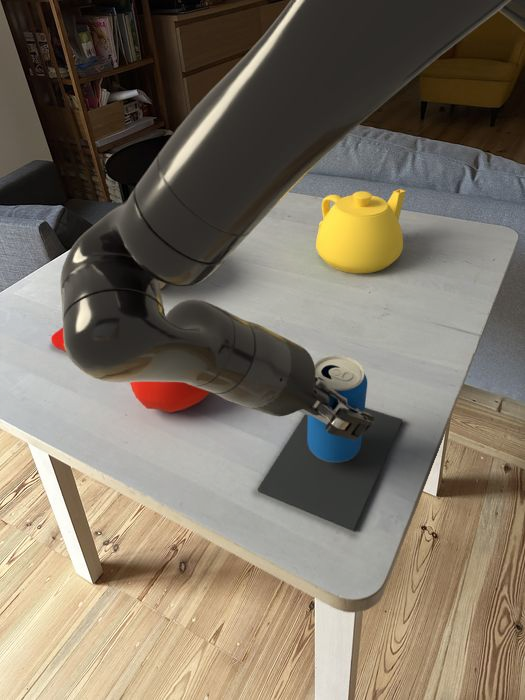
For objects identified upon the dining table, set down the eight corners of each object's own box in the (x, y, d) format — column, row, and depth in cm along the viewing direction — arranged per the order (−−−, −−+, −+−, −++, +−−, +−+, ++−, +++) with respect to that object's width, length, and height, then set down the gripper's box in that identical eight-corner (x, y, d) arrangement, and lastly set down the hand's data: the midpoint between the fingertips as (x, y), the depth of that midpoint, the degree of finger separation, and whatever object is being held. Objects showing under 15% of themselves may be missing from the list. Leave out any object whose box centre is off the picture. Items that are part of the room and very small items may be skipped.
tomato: (204, 431, 71) (196, 384, 66) (120, 416, 74) (105, 369, 69) (233, 370, 81) (228, 324, 75) (158, 359, 84) (148, 314, 78)
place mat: (318, 395, 75) (318, 392, 75) (402, 422, 71) (402, 419, 70) (257, 491, 63) (257, 488, 63) (354, 531, 59) (354, 528, 58)
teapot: (360, 287, 97) (365, 222, 89) (291, 251, 108) (290, 190, 100) (430, 250, 106) (440, 188, 98) (359, 220, 118) (363, 162, 110)
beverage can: (321, 419, 69) (323, 346, 62) (368, 437, 66) (377, 363, 59) (298, 454, 65) (298, 380, 57) (347, 474, 62) (354, 399, 55)
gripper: (328, 377, 45) (411, 416, 57) (239, 301, 55) (326, 348, 67) (278, 447, 46) (369, 470, 58) (199, 361, 56) (292, 397, 68)
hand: (346, 405), depth 63 cm, fingers closed on beverage can, 6 cm apart
